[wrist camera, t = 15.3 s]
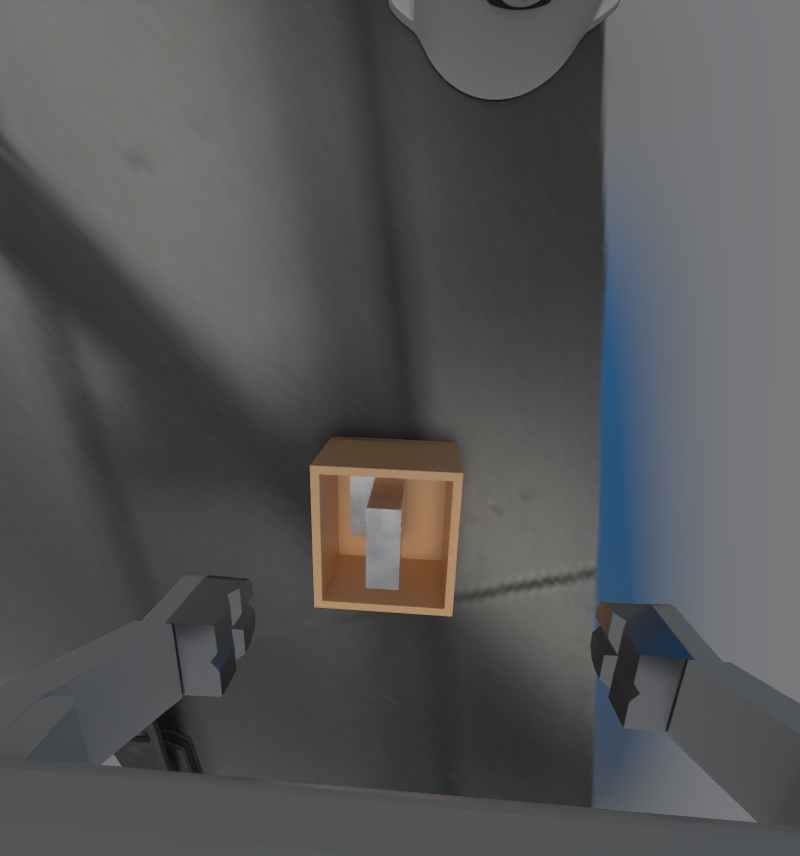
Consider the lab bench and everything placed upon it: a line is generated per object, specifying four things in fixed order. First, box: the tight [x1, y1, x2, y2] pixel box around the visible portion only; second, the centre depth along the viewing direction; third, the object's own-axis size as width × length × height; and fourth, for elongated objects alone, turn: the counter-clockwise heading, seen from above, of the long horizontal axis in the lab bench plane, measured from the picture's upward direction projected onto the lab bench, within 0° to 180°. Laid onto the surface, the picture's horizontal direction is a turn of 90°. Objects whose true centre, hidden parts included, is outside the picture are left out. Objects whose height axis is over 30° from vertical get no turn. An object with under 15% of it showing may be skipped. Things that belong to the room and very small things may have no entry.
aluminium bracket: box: [350, 476, 406, 590], centre depth 40 cm, size 8×6×10 cm
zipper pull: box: [114, 720, 203, 774], centre depth 56 cm, size 9×7×25 cm
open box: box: [310, 436, 463, 616], centre depth 42 cm, size 15×14×9 cm
